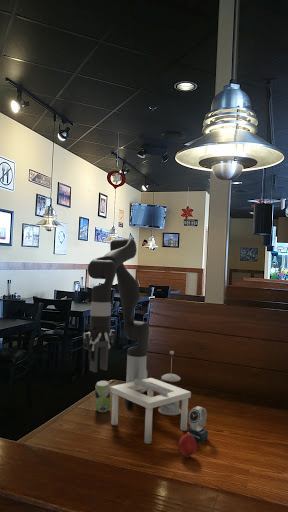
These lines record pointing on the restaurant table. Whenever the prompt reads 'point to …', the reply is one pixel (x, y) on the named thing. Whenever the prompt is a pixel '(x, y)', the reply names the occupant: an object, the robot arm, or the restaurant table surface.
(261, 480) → the restaurant table surface
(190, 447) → the onion
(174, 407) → the french press
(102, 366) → the grey u-shaped bracket
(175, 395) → the square frame stand
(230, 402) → the restaurant table surface
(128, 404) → the mobile phone
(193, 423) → the watch
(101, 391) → the beverage can
